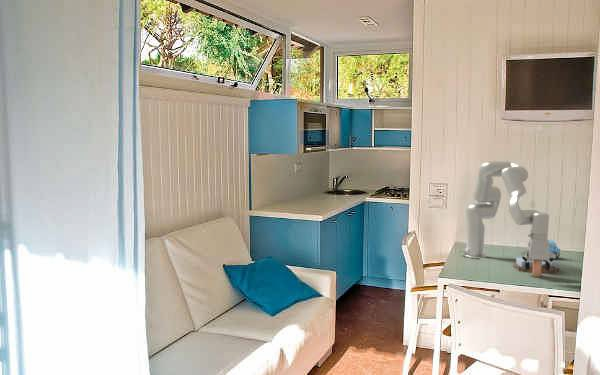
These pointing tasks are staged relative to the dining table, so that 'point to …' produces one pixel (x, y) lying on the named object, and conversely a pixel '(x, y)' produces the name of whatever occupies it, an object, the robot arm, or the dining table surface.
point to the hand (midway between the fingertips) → (536, 270)
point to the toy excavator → (553, 248)
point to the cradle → (551, 270)
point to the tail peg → (537, 268)
